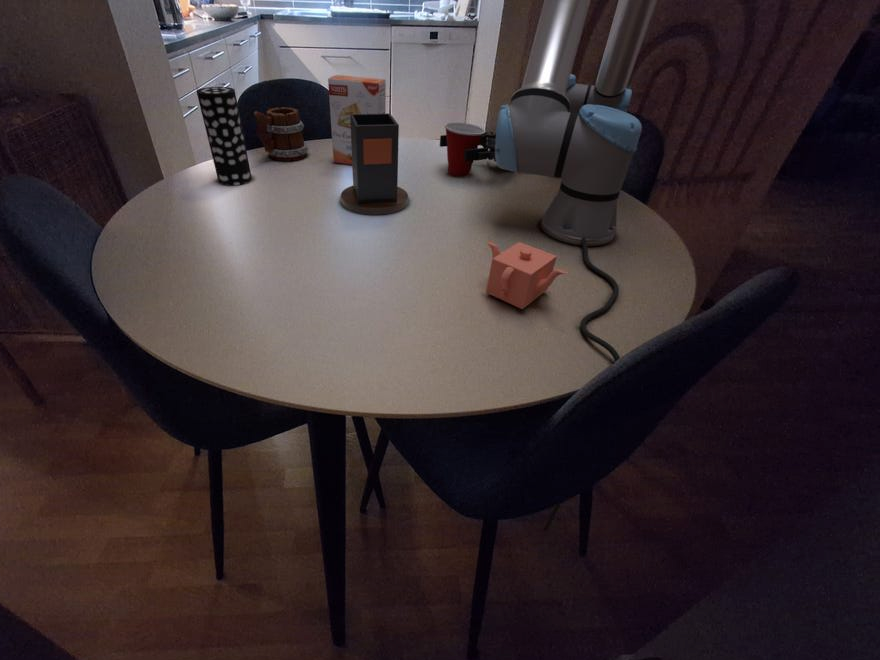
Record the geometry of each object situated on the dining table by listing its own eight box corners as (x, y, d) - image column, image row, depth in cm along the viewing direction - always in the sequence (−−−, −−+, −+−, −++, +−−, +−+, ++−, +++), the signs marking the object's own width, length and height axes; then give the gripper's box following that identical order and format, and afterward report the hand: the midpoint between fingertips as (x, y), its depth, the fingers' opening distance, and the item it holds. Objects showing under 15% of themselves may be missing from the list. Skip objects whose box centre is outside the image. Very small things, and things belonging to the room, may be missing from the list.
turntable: (410, 215, 99) (410, 208, 98) (339, 215, 98) (339, 208, 97) (405, 189, 111) (405, 182, 110) (342, 188, 110) (342, 182, 109)
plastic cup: (481, 181, 117) (488, 132, 109) (441, 179, 117) (445, 130, 109) (477, 167, 125) (483, 121, 117) (439, 166, 125) (443, 120, 117)
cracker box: (332, 163, 124) (326, 77, 110) (341, 157, 129) (335, 73, 115) (379, 169, 121) (378, 82, 108) (385, 163, 126) (386, 78, 112)
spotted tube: (253, 183, 111) (236, 93, 98) (219, 186, 109) (197, 94, 95) (249, 172, 117) (232, 86, 103) (217, 175, 114) (195, 87, 101)
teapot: (537, 327, 68) (551, 281, 63) (460, 290, 76) (467, 246, 70) (571, 297, 75) (586, 253, 69) (498, 266, 82) (506, 224, 77)
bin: (389, 185, 108) (390, 113, 97) (397, 201, 100) (399, 125, 90) (353, 187, 106) (350, 114, 96) (358, 203, 99) (355, 126, 88)
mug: (319, 153, 130) (307, 98, 118) (283, 174, 123) (267, 117, 112) (293, 145, 135) (279, 92, 124) (257, 164, 128) (239, 109, 117)
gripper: (543, 169, 116) (474, 178, 109) (492, 143, 133) (430, 149, 126) (550, 138, 111) (478, 146, 104) (496, 116, 128) (432, 121, 121)
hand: (452, 148), depth 115 cm, fingers open, 13 cm apart
